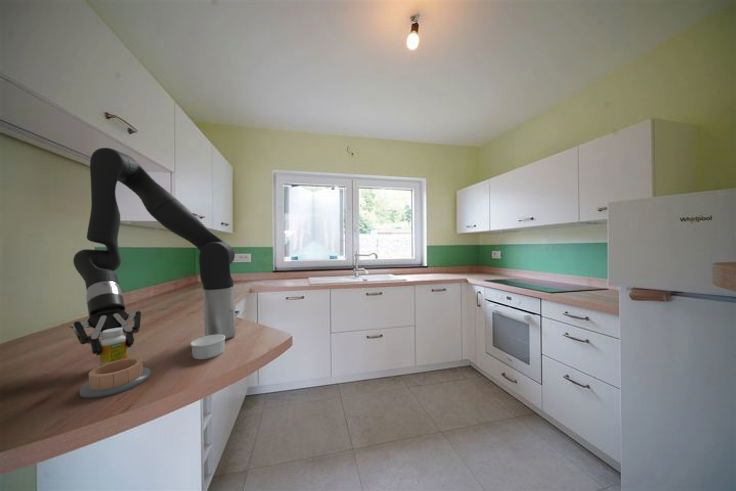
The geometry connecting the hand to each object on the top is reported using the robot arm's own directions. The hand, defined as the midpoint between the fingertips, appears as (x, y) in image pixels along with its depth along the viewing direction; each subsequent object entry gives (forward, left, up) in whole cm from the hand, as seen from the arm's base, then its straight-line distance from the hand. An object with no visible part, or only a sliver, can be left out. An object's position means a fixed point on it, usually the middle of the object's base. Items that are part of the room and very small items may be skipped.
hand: (114, 349), depth 70 cm
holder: (-5, +11, -5) cm, 13 cm away
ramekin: (-22, +1, -5) cm, 23 cm away
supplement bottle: (+1, -2, -5) cm, 5 cm away
